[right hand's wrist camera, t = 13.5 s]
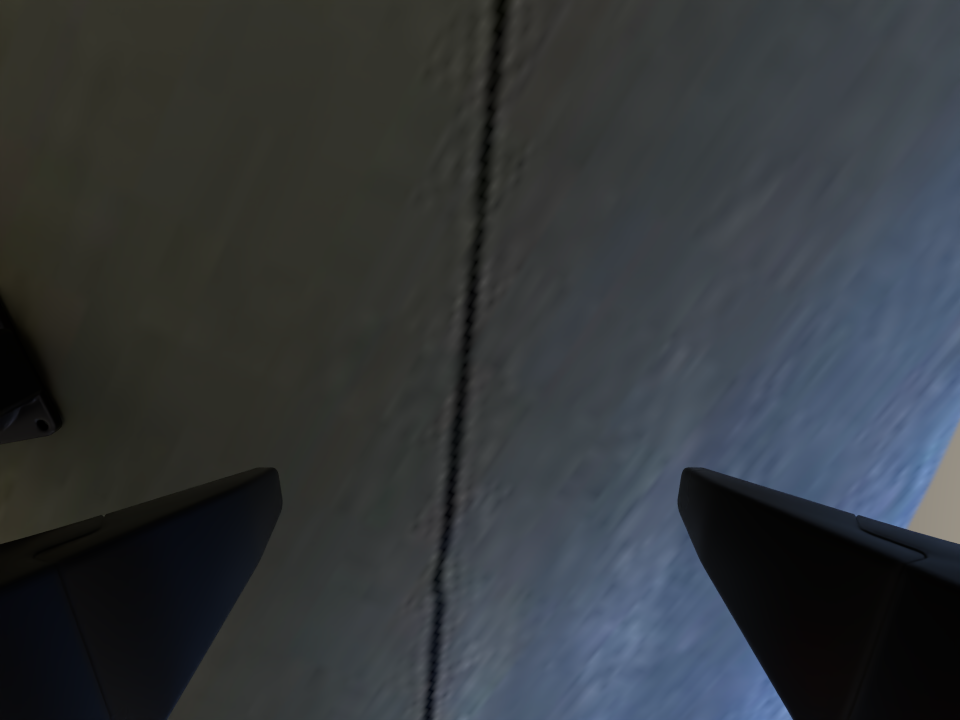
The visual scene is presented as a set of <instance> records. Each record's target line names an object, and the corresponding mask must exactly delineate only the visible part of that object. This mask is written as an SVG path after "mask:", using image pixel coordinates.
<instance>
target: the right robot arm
mask: <svg viewBox="0 0 960 720" xmlns="http://www.w3.org/2000/svg"><path fill="white" fill-rule="evenodd" d="M44 421H46V422H47V423H48V425H47V424H45V422H44ZM61 427H62V421H61V418H60V416H59V414H58V412H57V410H56V408H55V407H54V405H53V403H52V401H51V399H50V397H49V395H48V393H47V391H46V389H45V387H44V386H43V384H42V382H41V380H40V378H39V376H38V374H37V372H36V370H35V368H34V366H33V365H32V363H31V361H30V359H29V357H28V355H27V353H26V351H25V349H24V347H23V346H22V344H21V342H20V340H19V338H18V336H17V334H16V332H15V330H14V328H13V326H12V325H11V323H10V321H9V319H8V317H7V315H6V313H5V311H4V309H3V307H2V305H1V304H0V444H4V443H10V442H15V441H21V440H27V439H32V438H38V437H44V436H49V435H51V434H53V433H54V432H56V431H58V430H59V429H60V428H61ZM281 509H282V494H281V488H280V481H279V475H278V472H277V470H276V469H275V468H272V467H267V468H255V469H251V470H248V471H245V472H242V473H238V474H235V475H232V476H229V477H225V478H222V479H219V480H216V481H212V482H209V483H206V484H203V485H200V486H196V487H193V488H190V489H187V490H183V491H180V492H177V493H174V494H170V495H167V496H164V497H161V498H157V499H154V500H151V501H148V502H144V503H141V504H138V505H135V506H131V507H128V508H125V509H122V510H118V511H115V512H112V513H109V514H106V515H105V516H102V515H100V516H97V517H93V518H90V519H87V520H84V521H80V522H77V523H73V524H70V525H67V526H63V527H60V528H57V529H53V530H50V531H46V532H43V533H39V534H36V535H32V536H29V537H25V538H21V539H18V540H14V541H11V542H7V543H3V544H0V720H167V719H168V717H169V715H170V713H171V712H172V710H173V708H174V707H175V705H176V703H177V702H178V700H179V698H180V696H181V695H182V693H183V691H184V690H185V688H186V686H187V684H188V683H189V681H190V679H191V678H192V676H193V674H194V673H195V671H196V669H197V667H198V666H199V664H200V662H201V661H202V659H203V657H204V655H205V654H206V652H207V650H208V649H209V647H210V645H211V644H212V642H213V640H214V638H215V637H216V635H217V633H218V632H219V630H220V628H221V626H222V625H223V623H224V621H225V620H226V618H227V616H228V615H229V613H230V611H231V609H232V608H233V606H234V604H235V603H236V601H237V599H238V597H239V596H240V594H241V592H242V591H243V589H244V587H245V585H246V584H247V582H248V580H249V579H250V577H251V575H252V574H253V572H254V570H255V568H256V566H257V565H258V563H259V561H260V559H261V557H262V555H263V552H264V550H265V548H266V545H267V543H268V541H269V538H270V536H271V534H272V531H273V529H274V527H275V524H276V522H277V520H278V517H279V515H280V513H281ZM678 509H679V513H680V515H681V517H682V520H683V522H684V524H685V527H686V529H687V531H688V534H689V536H690V538H691V541H692V543H693V545H694V548H695V550H696V552H697V555H698V557H699V559H700V561H701V563H702V565H703V566H704V568H705V570H706V572H707V574H708V575H709V577H710V579H711V580H712V582H713V584H714V585H715V587H716V589H717V591H718V592H719V594H720V596H721V597H722V599H723V601H724V603H725V604H726V606H727V608H728V609H729V611H730V613H731V615H732V616H733V618H734V620H735V621H736V623H737V625H738V626H739V628H740V630H741V632H742V633H743V635H744V637H745V638H746V640H747V642H748V644H749V645H750V647H751V649H752V650H753V652H754V654H755V655H756V657H757V659H758V661H759V662H760V664H761V666H762V667H763V669H764V671H765V673H766V674H767V676H768V678H769V679H770V681H771V683H772V684H773V686H774V688H775V690H776V691H777V693H778V695H779V696H780V698H781V700H782V702H783V703H784V705H785V707H786V708H787V710H788V712H789V713H790V715H791V717H792V719H793V720H960V544H957V543H953V542H949V541H946V540H942V539H938V538H935V537H931V536H928V535H924V534H921V533H917V532H913V531H910V530H907V529H903V528H900V527H897V526H893V525H890V524H887V523H883V522H880V521H876V520H873V519H870V518H867V517H863V516H860V515H858V516H855V515H854V514H851V513H848V512H845V511H842V510H838V509H835V508H832V507H829V506H825V505H822V504H819V503H816V502H812V501H809V500H806V499H803V498H799V497H796V496H793V495H790V494H786V493H783V492H780V491H777V490H773V489H770V488H767V487H764V486H760V485H757V484H754V483H751V482H748V481H744V480H741V479H738V478H735V477H731V476H728V475H725V474H722V473H718V472H715V471H712V470H709V469H705V468H693V467H688V468H685V469H684V470H683V472H682V475H681V481H680V488H679V494H678Z"/></svg>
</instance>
